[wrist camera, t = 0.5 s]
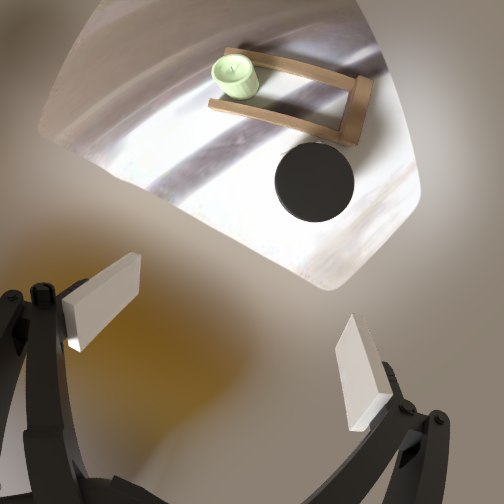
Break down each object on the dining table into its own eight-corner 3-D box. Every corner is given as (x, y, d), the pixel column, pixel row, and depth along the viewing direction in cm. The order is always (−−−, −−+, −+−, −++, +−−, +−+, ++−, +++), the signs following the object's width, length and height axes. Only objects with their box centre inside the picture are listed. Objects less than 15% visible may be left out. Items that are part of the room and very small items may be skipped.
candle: (226, 69, 34) (212, 49, 26) (260, 70, 34) (254, 49, 26) (222, 100, 36) (207, 85, 28) (257, 101, 35) (250, 86, 28)
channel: (230, 54, 33) (223, 41, 29) (363, 89, 33) (373, 80, 28) (213, 110, 36) (203, 103, 32) (348, 147, 36) (357, 144, 31)
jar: (348, 177, 37) (373, 183, 26) (311, 219, 40) (321, 241, 28) (300, 135, 36) (307, 122, 25) (263, 178, 39) (254, 183, 27)
